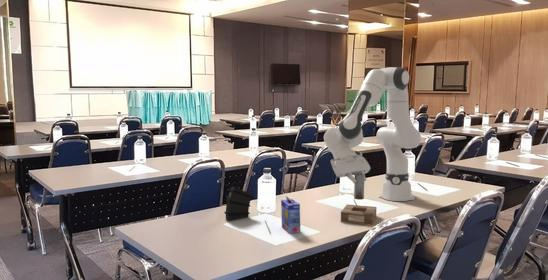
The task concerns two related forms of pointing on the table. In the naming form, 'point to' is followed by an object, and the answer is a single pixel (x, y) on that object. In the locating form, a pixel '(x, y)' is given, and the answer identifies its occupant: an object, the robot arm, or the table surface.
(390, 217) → the table surface
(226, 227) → the table surface
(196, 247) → the table surface
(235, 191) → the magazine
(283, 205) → the ink cartridge box
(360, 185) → the barrel peg
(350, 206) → the socket block
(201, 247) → the table surface
